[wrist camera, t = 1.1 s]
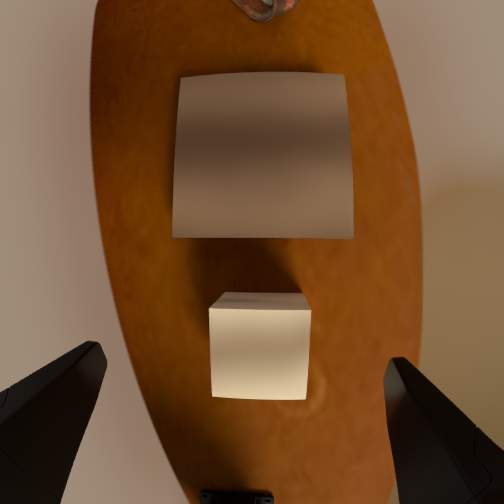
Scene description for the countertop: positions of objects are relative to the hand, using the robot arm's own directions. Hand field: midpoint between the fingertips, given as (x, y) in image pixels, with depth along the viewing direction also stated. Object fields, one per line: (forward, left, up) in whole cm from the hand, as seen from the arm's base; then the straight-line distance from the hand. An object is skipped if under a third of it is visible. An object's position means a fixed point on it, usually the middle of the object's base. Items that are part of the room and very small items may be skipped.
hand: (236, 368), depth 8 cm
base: (+9, 0, -11) cm, 14 cm away
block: (-2, 0, -12) cm, 12 cm away
